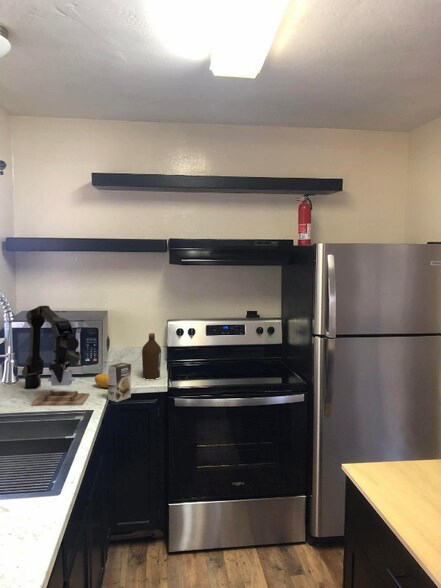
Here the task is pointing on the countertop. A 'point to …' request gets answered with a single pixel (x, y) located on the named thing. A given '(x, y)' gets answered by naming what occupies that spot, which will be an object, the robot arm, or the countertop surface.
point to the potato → (102, 380)
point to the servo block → (66, 378)
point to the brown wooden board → (61, 398)
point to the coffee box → (119, 382)
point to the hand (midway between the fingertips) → (61, 381)
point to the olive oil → (151, 358)
